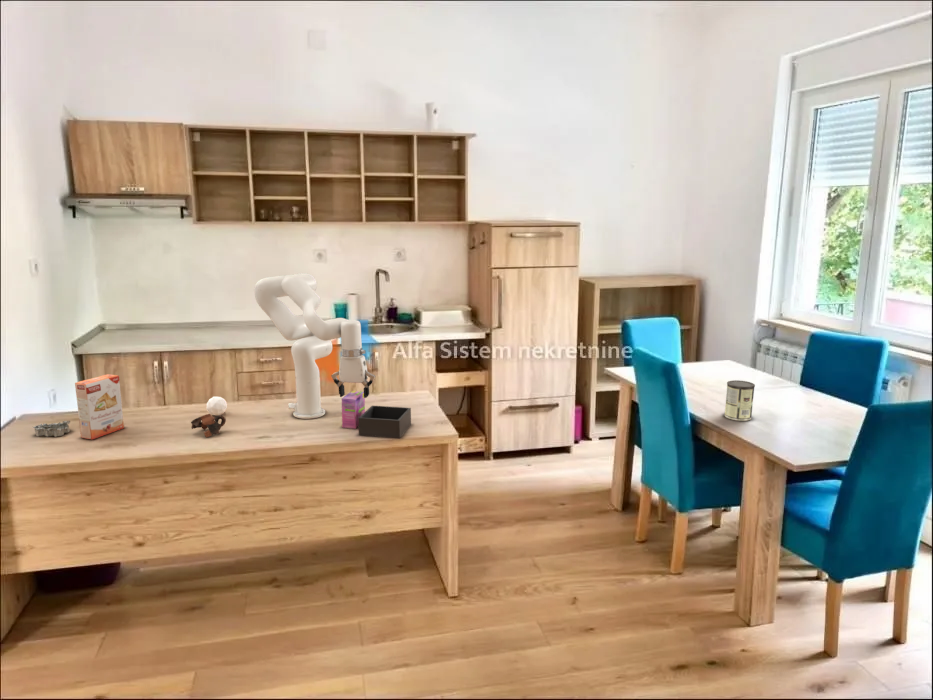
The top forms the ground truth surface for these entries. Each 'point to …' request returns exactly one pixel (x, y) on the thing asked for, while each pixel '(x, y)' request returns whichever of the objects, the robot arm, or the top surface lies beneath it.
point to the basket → (384, 421)
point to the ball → (216, 406)
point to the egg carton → (52, 429)
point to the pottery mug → (209, 424)
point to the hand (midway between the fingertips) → (354, 396)
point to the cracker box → (99, 406)
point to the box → (352, 409)
